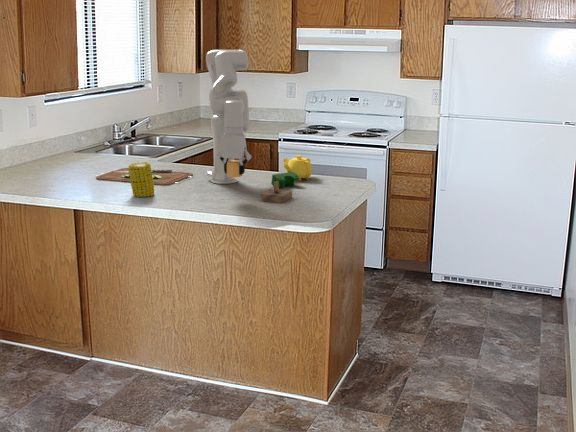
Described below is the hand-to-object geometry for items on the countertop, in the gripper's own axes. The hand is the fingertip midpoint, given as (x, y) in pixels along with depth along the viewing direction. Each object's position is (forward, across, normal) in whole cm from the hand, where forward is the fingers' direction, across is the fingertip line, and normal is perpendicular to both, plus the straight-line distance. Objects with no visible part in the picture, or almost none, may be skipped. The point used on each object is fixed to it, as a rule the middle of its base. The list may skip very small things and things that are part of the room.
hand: (234, 173), depth 315 cm
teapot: (+13, +10, +48) cm, 51 cm away
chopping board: (+14, -59, +25) cm, 66 cm away
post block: (+11, +16, +6) cm, 21 cm away
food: (+12, -40, -8) cm, 42 cm away
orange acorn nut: (+1, 0, 0) cm, 1 cm away
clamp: (+12, +11, +30) cm, 35 cm away
